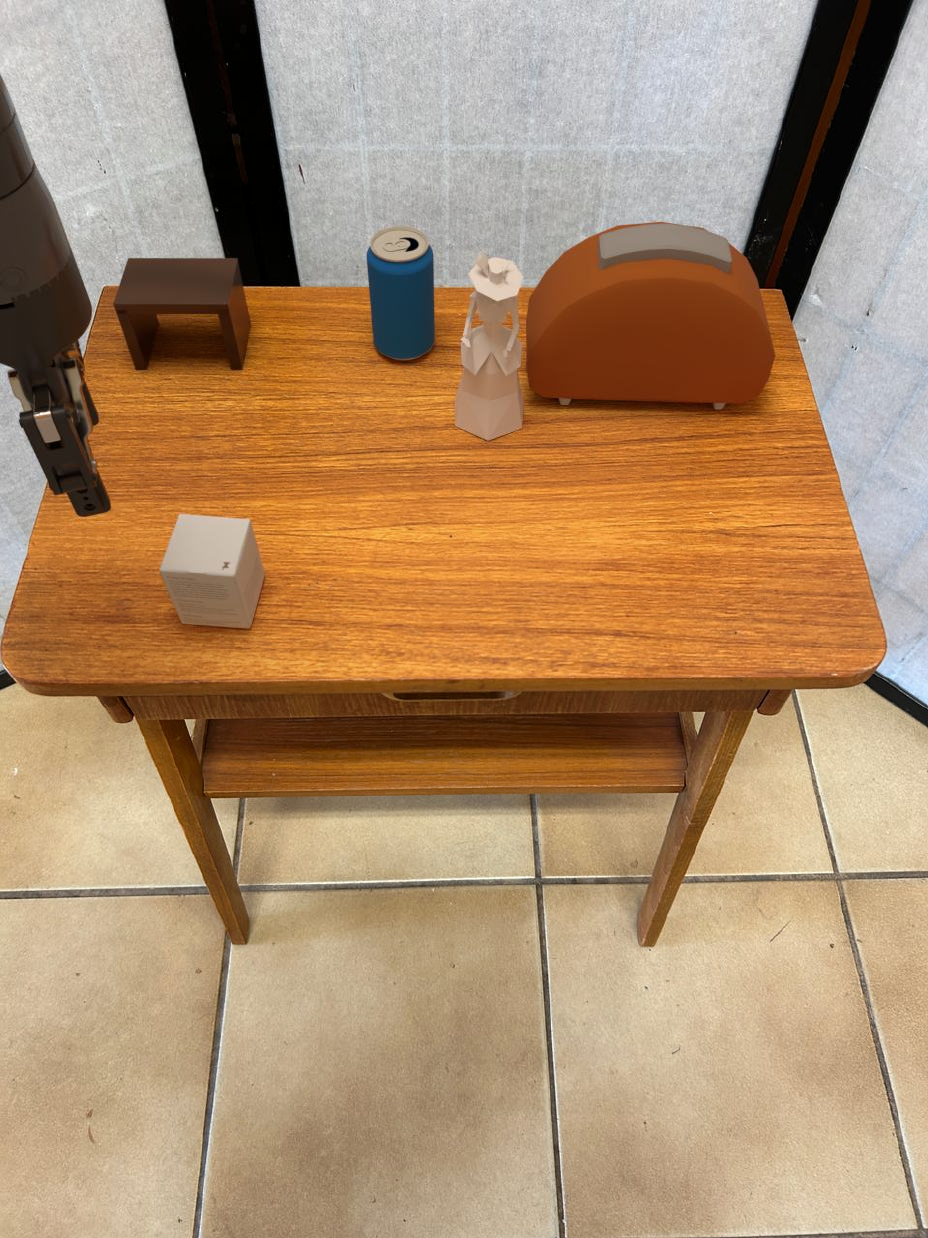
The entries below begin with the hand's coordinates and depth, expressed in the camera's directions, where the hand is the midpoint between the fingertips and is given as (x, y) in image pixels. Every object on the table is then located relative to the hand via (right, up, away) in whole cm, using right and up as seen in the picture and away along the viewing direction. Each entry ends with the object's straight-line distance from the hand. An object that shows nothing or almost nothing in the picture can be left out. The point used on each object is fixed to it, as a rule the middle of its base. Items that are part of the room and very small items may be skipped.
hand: (89, 466), depth 65 cm
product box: (+5, -9, +16) cm, 19 cm away
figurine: (+28, +10, +30) cm, 42 cm away
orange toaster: (+43, +14, +33) cm, 56 cm away
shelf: (-3, +18, +35) cm, 40 cm away
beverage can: (+19, +18, +36) cm, 45 cm away
